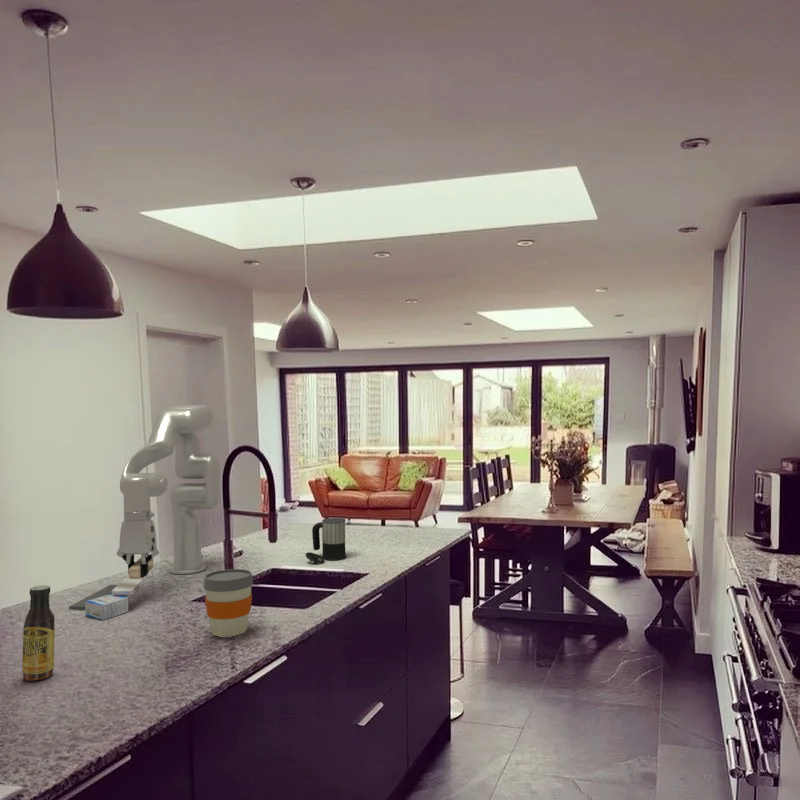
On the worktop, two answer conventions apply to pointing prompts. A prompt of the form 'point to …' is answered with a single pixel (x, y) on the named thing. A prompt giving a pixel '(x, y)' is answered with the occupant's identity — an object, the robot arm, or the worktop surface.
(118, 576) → the worktop surface
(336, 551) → the milk frother
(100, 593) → the mat
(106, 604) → the medicine box
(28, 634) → the sauce bottle
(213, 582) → the reusable coffee cup
